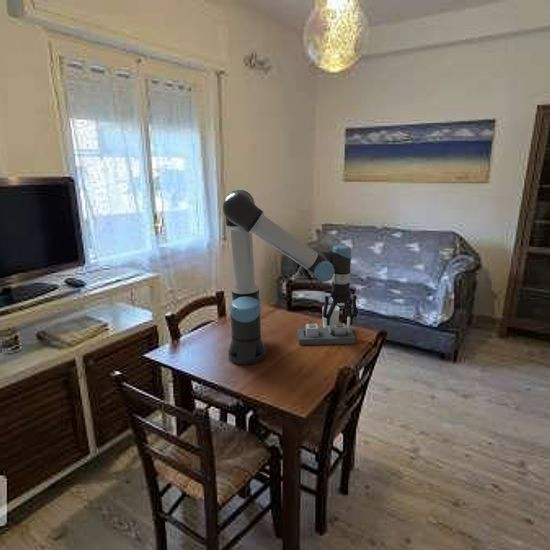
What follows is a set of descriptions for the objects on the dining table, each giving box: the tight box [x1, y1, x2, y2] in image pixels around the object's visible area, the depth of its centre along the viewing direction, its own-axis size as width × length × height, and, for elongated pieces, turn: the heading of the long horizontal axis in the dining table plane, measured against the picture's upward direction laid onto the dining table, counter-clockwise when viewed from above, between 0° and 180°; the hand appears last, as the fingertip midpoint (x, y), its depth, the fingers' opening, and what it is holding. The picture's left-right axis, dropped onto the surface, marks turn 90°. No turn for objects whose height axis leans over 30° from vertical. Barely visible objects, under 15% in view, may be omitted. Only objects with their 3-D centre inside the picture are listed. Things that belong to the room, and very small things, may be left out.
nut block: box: [332, 322, 347, 336], centre depth 176 cm, size 5×5×6 cm
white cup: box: [321, 304, 340, 328], centre depth 186 cm, size 8×8×10 cm
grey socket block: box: [296, 323, 356, 346], centre depth 176 cm, size 24×11×6 cm, turn 92°
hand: (339, 331), depth 176 cm, fingers open, 7 cm apart
